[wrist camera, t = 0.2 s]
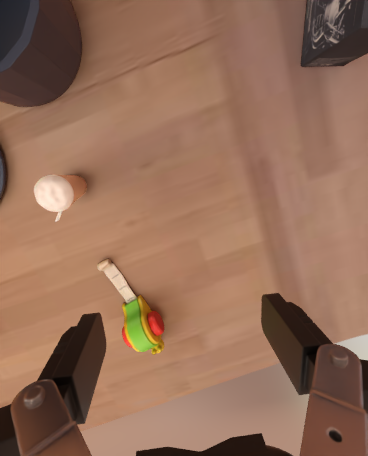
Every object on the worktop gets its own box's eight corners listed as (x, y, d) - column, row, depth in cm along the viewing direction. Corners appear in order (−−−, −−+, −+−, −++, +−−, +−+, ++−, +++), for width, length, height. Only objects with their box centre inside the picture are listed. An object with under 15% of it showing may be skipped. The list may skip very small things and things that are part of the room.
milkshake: (68, 208, 39) (37, 225, 29) (56, 174, 37) (19, 180, 28) (97, 201, 39) (75, 217, 29) (86, 167, 37) (59, 172, 28)
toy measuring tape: (146, 347, 47) (143, 377, 41) (87, 267, 42) (74, 287, 36) (175, 333, 47) (177, 360, 41) (120, 250, 41) (112, 267, 35)
